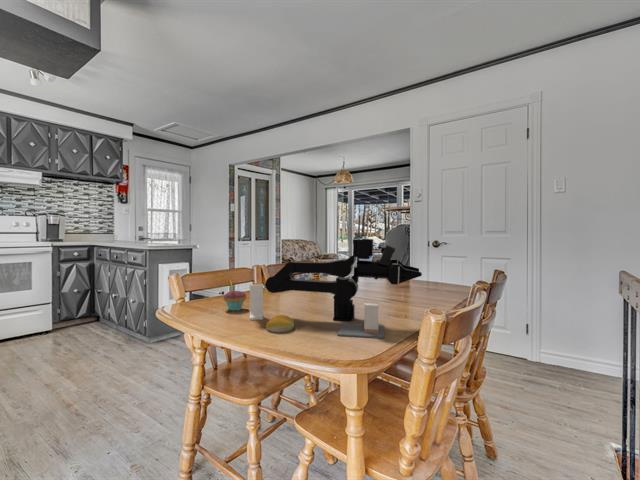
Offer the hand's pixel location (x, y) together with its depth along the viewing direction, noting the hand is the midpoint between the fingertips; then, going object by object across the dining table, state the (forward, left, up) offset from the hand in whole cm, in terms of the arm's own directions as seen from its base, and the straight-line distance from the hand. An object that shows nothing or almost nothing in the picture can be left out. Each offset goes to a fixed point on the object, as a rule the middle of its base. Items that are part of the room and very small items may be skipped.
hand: (420, 272), depth 110 cm
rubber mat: (-18, -14, -17) cm, 28 cm away
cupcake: (-68, +7, -17) cm, 71 cm away
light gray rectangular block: (-55, -4, -17) cm, 58 cm away
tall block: (-15, -14, -16) cm, 26 cm away
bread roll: (-43, -15, -17) cm, 49 cm away
